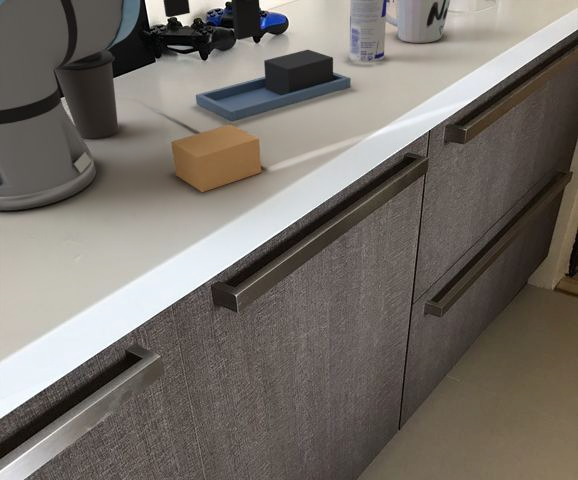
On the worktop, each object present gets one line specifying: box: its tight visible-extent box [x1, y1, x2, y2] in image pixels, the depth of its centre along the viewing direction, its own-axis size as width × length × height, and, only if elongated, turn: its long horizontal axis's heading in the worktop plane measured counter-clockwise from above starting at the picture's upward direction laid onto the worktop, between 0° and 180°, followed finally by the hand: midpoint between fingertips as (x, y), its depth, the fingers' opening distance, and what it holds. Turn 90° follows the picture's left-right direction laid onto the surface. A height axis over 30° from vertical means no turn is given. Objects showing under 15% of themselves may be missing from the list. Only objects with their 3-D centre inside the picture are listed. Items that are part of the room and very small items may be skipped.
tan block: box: [170, 124, 262, 193], centre depth 76 cm, size 8×6×4 cm
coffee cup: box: [54, 50, 119, 140], centre depth 86 cm, size 8×8×10 cm
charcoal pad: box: [263, 49, 334, 96], centre depth 97 cm, size 8×6×4 cm
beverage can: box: [349, 0, 388, 63], centre depth 104 cm, size 6×6×15 cm
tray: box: [195, 71, 352, 122], centre depth 96 cm, size 21×10×2 cm, turn 126°
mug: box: [386, 0, 451, 44], centre depth 116 cm, size 10×15×10 cm
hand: (210, 25), depth 70 cm, fingers open, 13 cm apart
